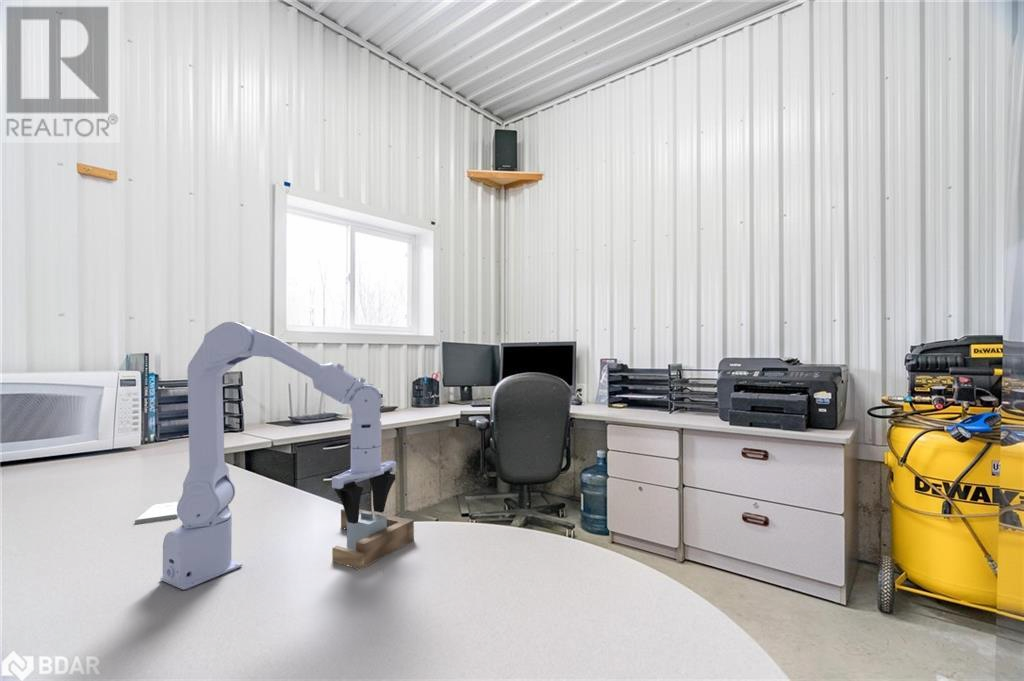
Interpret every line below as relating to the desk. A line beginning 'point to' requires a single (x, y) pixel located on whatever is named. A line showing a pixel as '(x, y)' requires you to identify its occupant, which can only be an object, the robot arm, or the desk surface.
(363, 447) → the robot arm
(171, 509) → the external hard drive
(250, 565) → the desk surface
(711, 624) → the desk surface
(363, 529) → the cabinet block
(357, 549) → the wooden frame
